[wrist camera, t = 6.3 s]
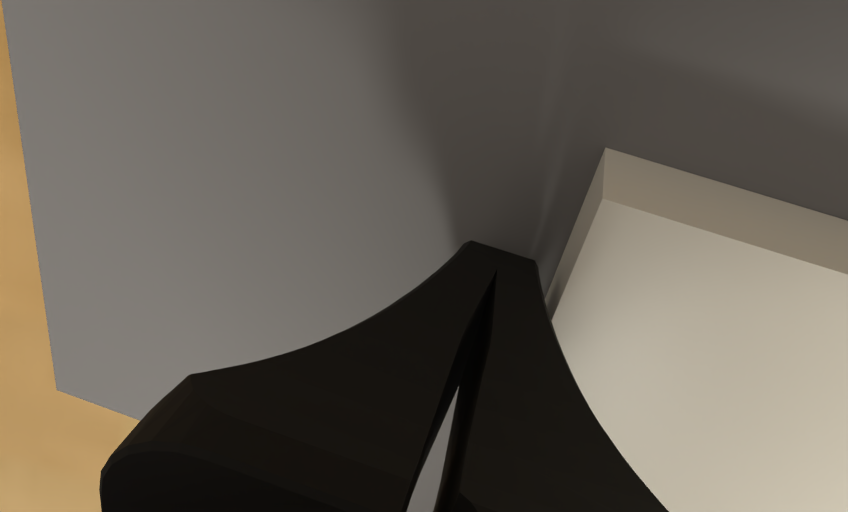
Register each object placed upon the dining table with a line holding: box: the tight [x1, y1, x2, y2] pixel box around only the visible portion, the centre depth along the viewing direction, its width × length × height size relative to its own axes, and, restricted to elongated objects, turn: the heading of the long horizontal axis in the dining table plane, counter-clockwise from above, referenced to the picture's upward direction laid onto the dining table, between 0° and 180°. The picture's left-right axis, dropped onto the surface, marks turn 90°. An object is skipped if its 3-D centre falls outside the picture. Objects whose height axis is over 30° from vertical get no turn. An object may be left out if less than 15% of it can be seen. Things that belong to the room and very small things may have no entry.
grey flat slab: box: [2, 0, 848, 512], centre depth 13 cm, size 16×17×2 cm
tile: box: [545, 147, 848, 512], centre depth 11 cm, size 6×8×2 cm
